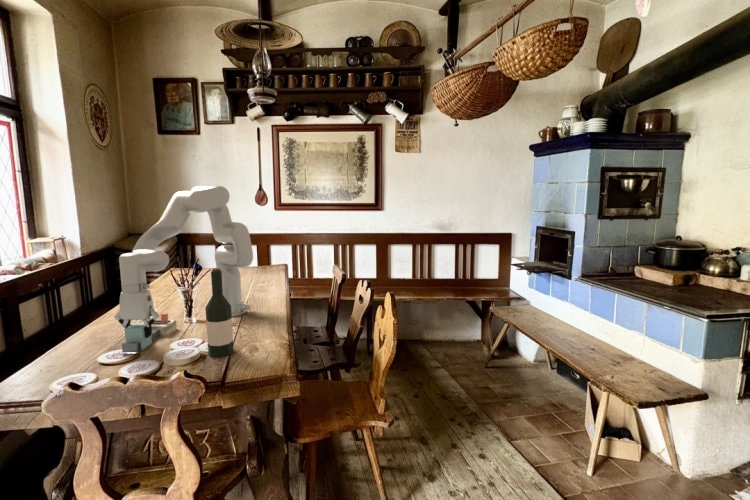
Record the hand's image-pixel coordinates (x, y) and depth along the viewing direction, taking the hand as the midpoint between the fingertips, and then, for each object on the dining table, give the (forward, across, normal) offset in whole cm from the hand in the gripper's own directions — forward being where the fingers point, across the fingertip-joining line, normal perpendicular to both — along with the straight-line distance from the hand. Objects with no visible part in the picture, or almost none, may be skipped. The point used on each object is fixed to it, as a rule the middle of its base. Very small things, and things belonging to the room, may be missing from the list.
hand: (138, 336), depth 145 cm
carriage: (+4, 0, 0) cm, 4 cm away
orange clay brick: (0, -1, -16) cm, 16 cm away
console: (+4, +1, -16) cm, 16 cm away
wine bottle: (+5, -31, +5) cm, 32 cm away
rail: (+4, 0, -3) cm, 5 cm away
